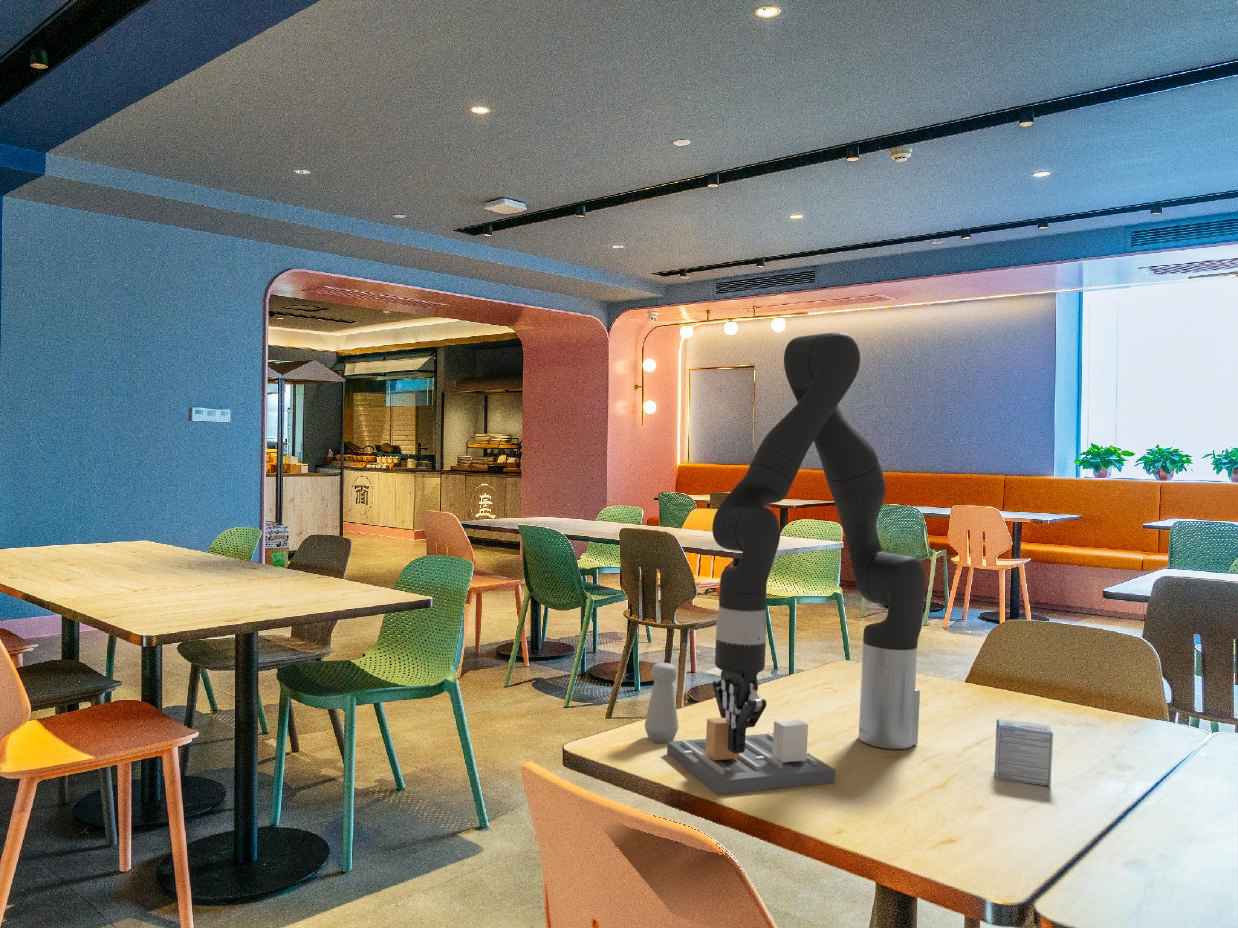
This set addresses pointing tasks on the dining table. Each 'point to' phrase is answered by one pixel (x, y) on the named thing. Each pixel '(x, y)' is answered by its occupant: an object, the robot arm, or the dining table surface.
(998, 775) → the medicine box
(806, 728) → the fader
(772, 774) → the console
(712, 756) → the block
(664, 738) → the salt shaker
